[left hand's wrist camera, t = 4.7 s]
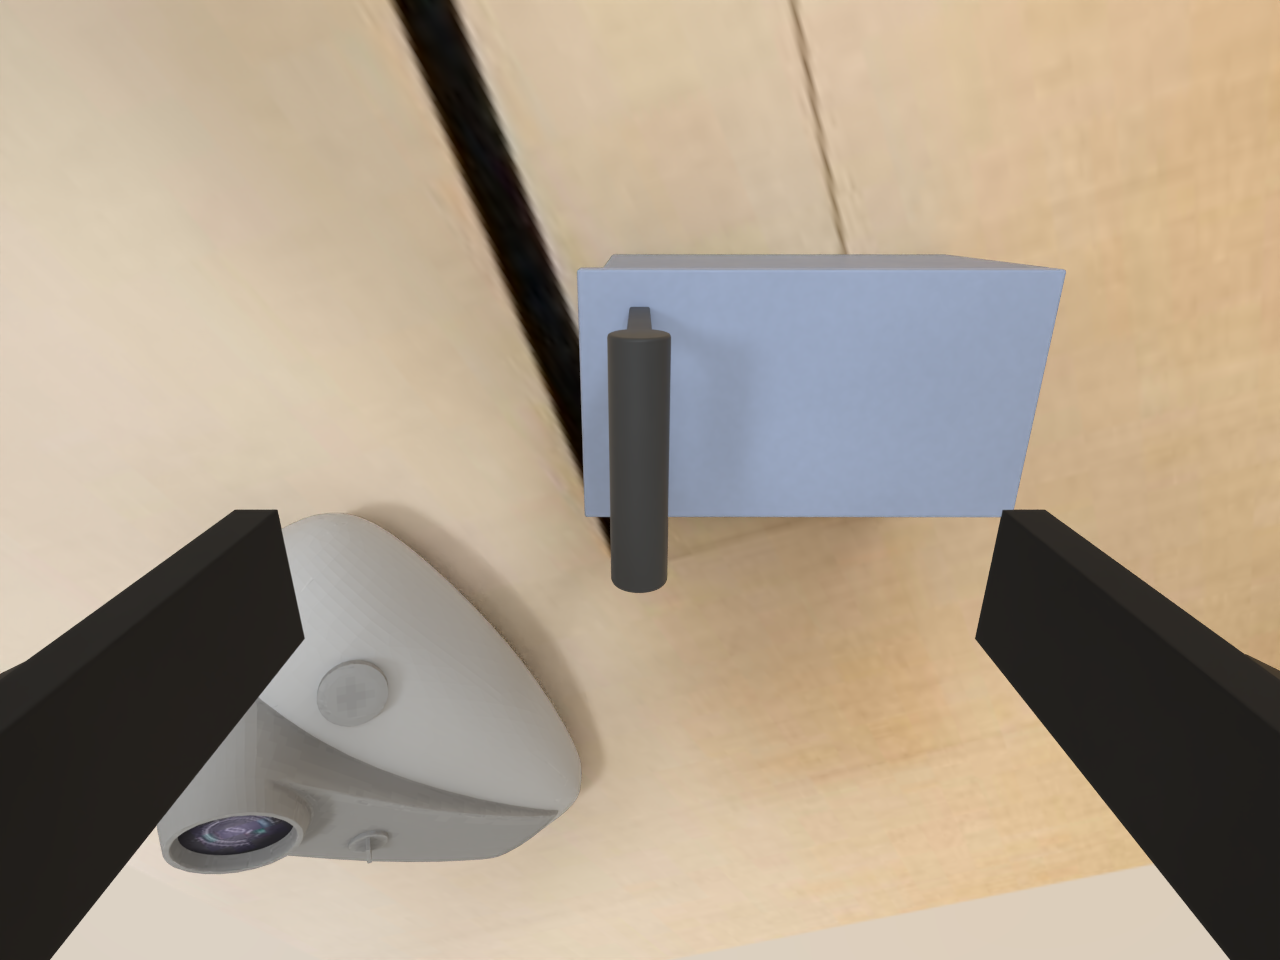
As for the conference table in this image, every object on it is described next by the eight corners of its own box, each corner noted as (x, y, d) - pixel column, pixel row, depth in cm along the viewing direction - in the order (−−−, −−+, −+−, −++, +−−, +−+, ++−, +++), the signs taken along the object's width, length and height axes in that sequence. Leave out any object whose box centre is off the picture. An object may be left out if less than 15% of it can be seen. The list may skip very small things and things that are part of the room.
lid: (586, 507, 27) (564, 626, 19) (579, 267, 23) (548, 293, 16) (1000, 508, 27) (1148, 627, 19) (1051, 267, 23) (1254, 293, 16)
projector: (245, 811, 44) (67, 1079, 30) (157, 484, 36) (-143, 650, 22) (585, 813, 44) (561, 1082, 30) (577, 488, 36) (537, 656, 22)
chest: (614, 440, 35) (607, 507, 27) (612, 254, 32) (602, 267, 24) (917, 440, 35) (1000, 507, 27) (946, 254, 32) (1050, 267, 24)
